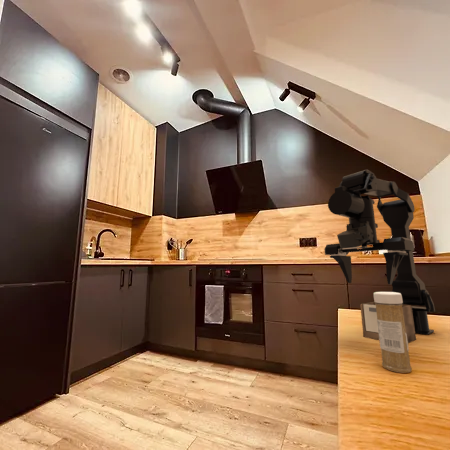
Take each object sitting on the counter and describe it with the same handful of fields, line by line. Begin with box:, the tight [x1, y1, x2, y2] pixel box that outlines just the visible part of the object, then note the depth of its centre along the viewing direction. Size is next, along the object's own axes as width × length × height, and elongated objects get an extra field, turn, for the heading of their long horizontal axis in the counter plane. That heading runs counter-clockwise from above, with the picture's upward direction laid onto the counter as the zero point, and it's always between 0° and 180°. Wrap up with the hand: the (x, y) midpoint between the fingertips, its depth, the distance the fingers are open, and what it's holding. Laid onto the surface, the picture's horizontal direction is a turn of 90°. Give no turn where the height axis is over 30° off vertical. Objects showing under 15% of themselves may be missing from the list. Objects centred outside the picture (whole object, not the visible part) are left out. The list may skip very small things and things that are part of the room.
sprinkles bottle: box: [373, 291, 413, 374], centre depth 46 cm, size 5×5×13 cm
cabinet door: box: [362, 303, 379, 333], centre depth 65 cm, size 1×8×7 cm, turn 37°
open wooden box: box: [359, 301, 417, 344], centre depth 66 cm, size 8×10×8 cm
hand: (368, 283), depth 59 cm, fingers open, 9 cm apart
